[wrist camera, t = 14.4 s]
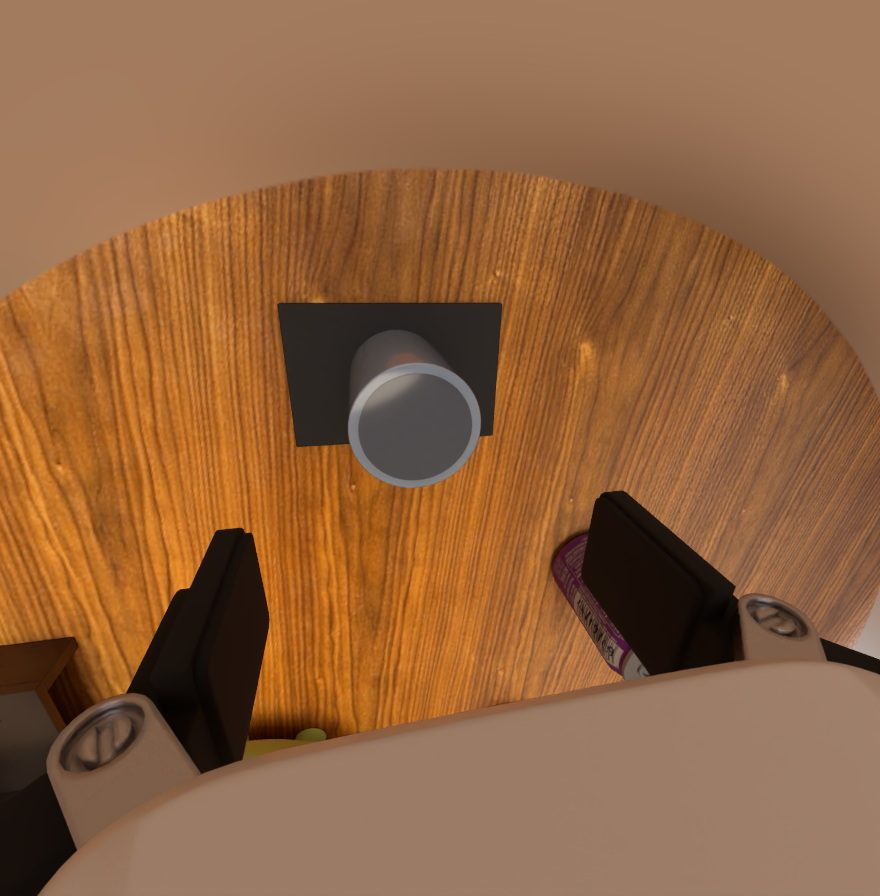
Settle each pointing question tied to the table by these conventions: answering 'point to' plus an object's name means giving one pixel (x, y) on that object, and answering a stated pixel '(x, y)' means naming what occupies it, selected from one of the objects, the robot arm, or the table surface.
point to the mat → (350, 324)
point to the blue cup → (409, 411)
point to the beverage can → (594, 612)
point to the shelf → (28, 710)
